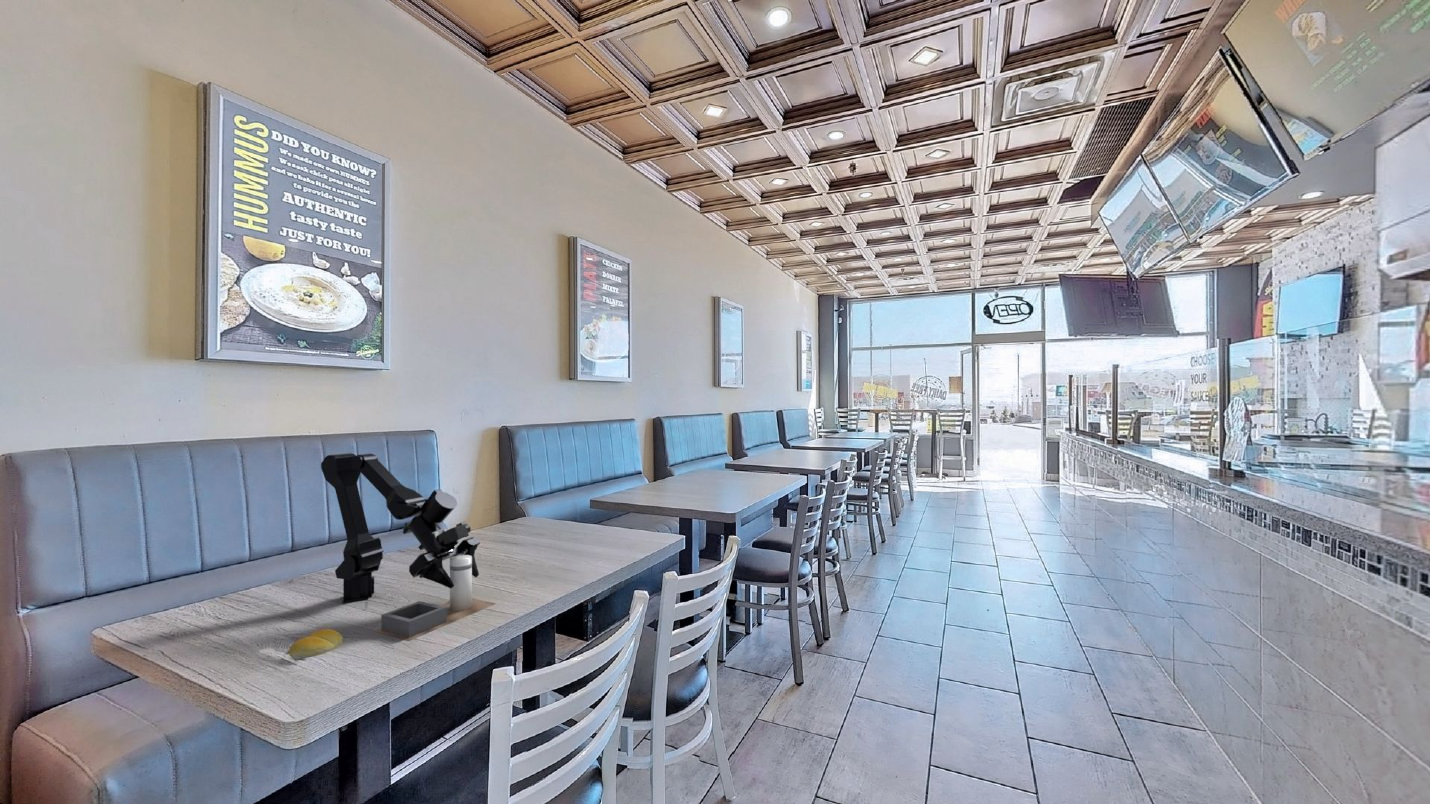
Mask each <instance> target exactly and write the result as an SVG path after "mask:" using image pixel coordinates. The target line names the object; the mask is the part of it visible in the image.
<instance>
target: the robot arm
mask: <svg viewBox="0 0 1430 804" xmlns="http://www.w3.org/2000/svg"><path fill="white" fill-rule="evenodd" d="M320 468H321V471H322V474H323V477H324V479H325V481H326V482H327V483H328V484H329V485H331V487H332V488H334V491H335V494H336V497H337V502H338V506H339V511H340V515H341V519H342V523H343V527H344V531H345V535H346V539H347V541H346V544H345V546H344V549H343V553H342V554H343V561H342V562H341V563H340V564H339V566H337V568H335V570H334V572H335V577H336V579H339V580H343V584H342V585H343V587H342V589H343V591H342V592H343V596H342V601H341V602H342V603H348V602H349V603H350V602H356V601H362V600H368V599H372V598H373V595H374V594H375V576H374V575H373V574H372V573H374V572H377V571H379V569H380V565H381V563H382V562H381V561H382V560H383V558H384V555H383V552H384V551H385V550H384V548H383V546H382V540H381V539H380V538H379V537H376V538H374V537H373V535H371V534H370V531H369V528H368V524H367V519H366V515H365V510H364V508H363V503H362V499H361V496H360V491H359V488H358V481H359V478H360V476H361V474H362V475H363V477H364V478H365V479H367V480H368V482H369V483H370V484H371V485H372V486H373V487H374V488H375V489H376V490H377V491H378V492H379V493H380V494H381V495H382V496H383V498H384V499H385V500H386V501H385V502H386V503H385V504H386V508H387V510H388V511H389V513H390V514H391V516H392V517H393V518H394V519H396V520H398V521H401V520H406V519H410V518H412V519H411V520H410V521H409V522H405V523H404V527H403V529H402V534H403V535H406V534H410V533H412V534H413V536H414V537H415V538H416V539H417V541H418V542H419V546H418V547H417V548H418V549H419V550H420V551H423V550H425V552H424V553H420V554H419V555H418V556H417V558H415V560H414V561H413V562H412V563H411V564H410V565H409V566H408V568H409V569H408V572H409V574H410V575H411V576H412V577H413V578H414V579H415V578H417V577H419V578H420V579H422V578H423V579H426V580H429V581H432V582H434V583H438V585H439V584H440V585H442V586H444V587H446V588H449V589H450V588H453V587H454V584H453V582H452V580H451V579H450V575H449V574H448V573H447V571H446V570H445V569H444V567H443V561H445V560H447V559H450V558H452V557H455V556H459V555H470V556H472V577H474V578H478V577H479V575H480V573H479V570H478V566H477V562H476V557H475V552H476V550H477V549H478V547H479V545H480V544H481V542H480V541H479V540H478V539H477V537H473V536H471V537H469V533H470V532H471V526H470V525H469V524H468V523H467V521H466V520H464V521H461V522H460V523H457V524H456V526H454V527H452V528H450V529H448V528H441V527H440V525H439V524H440V523H443V522H444V521H445V520H446V519H447V518H448V516H449V515H450V514H452V511H453V510H454V509H455V508H456V507H457V505H458V502H457V499H456V497H454V495H451V494H449V493H448V492H444V491H442V489H441V488H439V489H435V490H433V491H432V492H431V493H430V496H429V497H428V498H424V496H422V494H421V493H418V491H416V490H414V489H411V488H409V487H406V486H405V485H403V484H402V483H401V482H400V481H399V480H398V479H397V478H396V477H395V475H393V474H392V473H391V472H390V471H389V469H387V468H386V467H385V466H384V464H382V462H380V461H379V459H378V457H377V455H376V454H373V453H364V454H355V453H352V452H349V453H348V452H347V453H339V454H338V453H337V454H328V455H326V456H325V457H324V458H323V460H322V462H321V463H320ZM467 537H469V538H467ZM463 538H466V539H463ZM461 539H463V540H461ZM459 540H461V542H460V541H459ZM456 545H457V546H456Z"/></svg>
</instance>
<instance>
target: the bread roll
mask: <svg viewBox="0 0 1430 804" xmlns="http://www.w3.org/2000/svg"><path fill="white" fill-rule="evenodd" d="M343 643H344V638H343V636H342V634H341V633H340V632H339V631H338V630H335V629H331V628H323V629H321V628H320V629H318V630H315V631H313V632H311V633H310V634H309V635H308V636H307V637H306V636H305V637H302V638H300V639H297V640H296V641H295V642H293V643H292V645H291V646H290V647H289V650H288V654H289V657H291V659H292V660H293V659H294V661H297V660H303V661H306V659H304V658H306V657H307V658H308V657H315V656H319V655H323V654H326V653H328V652H330V651H333V650H335V649H336V648H338V647H339V646H341V645H342V644H343Z"/></svg>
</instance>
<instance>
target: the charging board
mask: <svg viewBox="0 0 1430 804" xmlns="http://www.w3.org/2000/svg"><path fill="white" fill-rule="evenodd" d="M496 604H497V603H496V602H490V601H487V600H482V599H481V600H480V599H477V598H473V597H472V606H471V607H470V608H469V609H466V610H462V611H451V610H450V601H447V602H445V603H443V604H440V605H439V604H438V605H439V606H443V607H447V622H446V623H443V624H441V625H439V626H436V627H434V628H431V629H429V630H427V631H424V632H422V633H420V634H417V635H415V636H413V637H410V638H408V637H404V636H400V635H397V634H393V633H389V632H386V631H382V630H381V627H380V628H378V629H374V630H373V632H375V633H379V634H382V635H386V636H389V637H393V638H396V639H400V640H404V641H407V642H410V641H412V640H413V641H414V640H415V639H417V638H419V637H422V636H424V635H426V634H428V633H430V632H431V633H432V632H433V631H436V630H438V629H440V628H443V627H444V626H448V625H450V624H453V623H454V622H457V621H459V620H461V619H464V618H465V617H468V616H471V615H473V614H475V613H477V612H480V611H482V610H484V609H487V608H489V607H492V606H494V605H496Z"/></svg>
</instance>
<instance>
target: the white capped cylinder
mask: <svg viewBox="0 0 1430 804" xmlns="http://www.w3.org/2000/svg"><path fill="white" fill-rule="evenodd" d="M449 577H450V579H451V580H452V582H453V584H454V587H453V588H449V602H450V610H451V611H462V610H466V609H469V608H470V607H471V606H472V598H473V597H472V596H473V595H472V594H473V591H472V590H473V585H472V584H473V583H472V582H473V581H472V580H473V575H472V556H470V555H459V556H455V557H454V556H453V557H451V558H449Z"/></svg>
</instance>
